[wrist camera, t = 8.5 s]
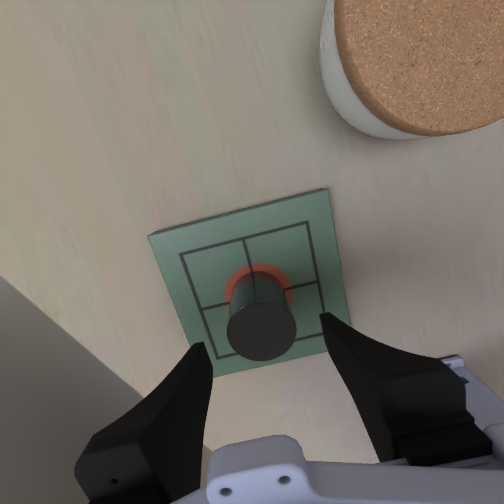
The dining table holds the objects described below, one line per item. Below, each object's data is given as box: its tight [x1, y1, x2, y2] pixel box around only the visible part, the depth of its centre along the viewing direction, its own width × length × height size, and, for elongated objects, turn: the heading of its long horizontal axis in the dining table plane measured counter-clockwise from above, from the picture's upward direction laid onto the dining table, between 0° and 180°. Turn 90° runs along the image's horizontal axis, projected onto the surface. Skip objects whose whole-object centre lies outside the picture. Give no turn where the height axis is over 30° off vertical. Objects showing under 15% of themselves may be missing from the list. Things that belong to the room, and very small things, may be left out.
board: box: [147, 189, 350, 378], centre depth 21 cm, size 14×14×2 cm
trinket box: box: [319, 0, 504, 140], centre depth 13 cm, size 11×11×9 cm
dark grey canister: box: [227, 271, 297, 361], centre depth 18 cm, size 4×4×5 cm
